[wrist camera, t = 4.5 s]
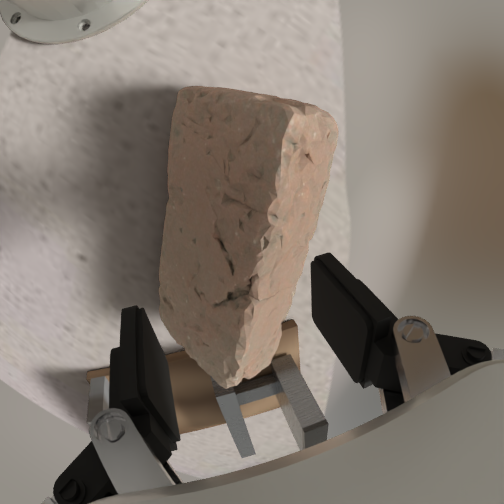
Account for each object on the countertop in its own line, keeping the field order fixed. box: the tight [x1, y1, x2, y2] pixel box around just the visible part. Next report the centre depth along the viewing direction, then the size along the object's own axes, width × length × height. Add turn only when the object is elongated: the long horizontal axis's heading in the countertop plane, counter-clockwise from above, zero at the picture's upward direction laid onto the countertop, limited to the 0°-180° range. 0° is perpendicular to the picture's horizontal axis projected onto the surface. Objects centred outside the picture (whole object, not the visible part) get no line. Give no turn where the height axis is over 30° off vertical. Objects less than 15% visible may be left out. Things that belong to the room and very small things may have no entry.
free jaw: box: [210, 354, 328, 458], centre depth 26 cm, size 12×8×8 cm, turn 8°
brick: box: [159, 86, 338, 389], centre depth 18 cm, size 17×8×5 cm
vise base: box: [86, 320, 300, 434], centre depth 27 cm, size 12×20×6 cm, turn 98°
